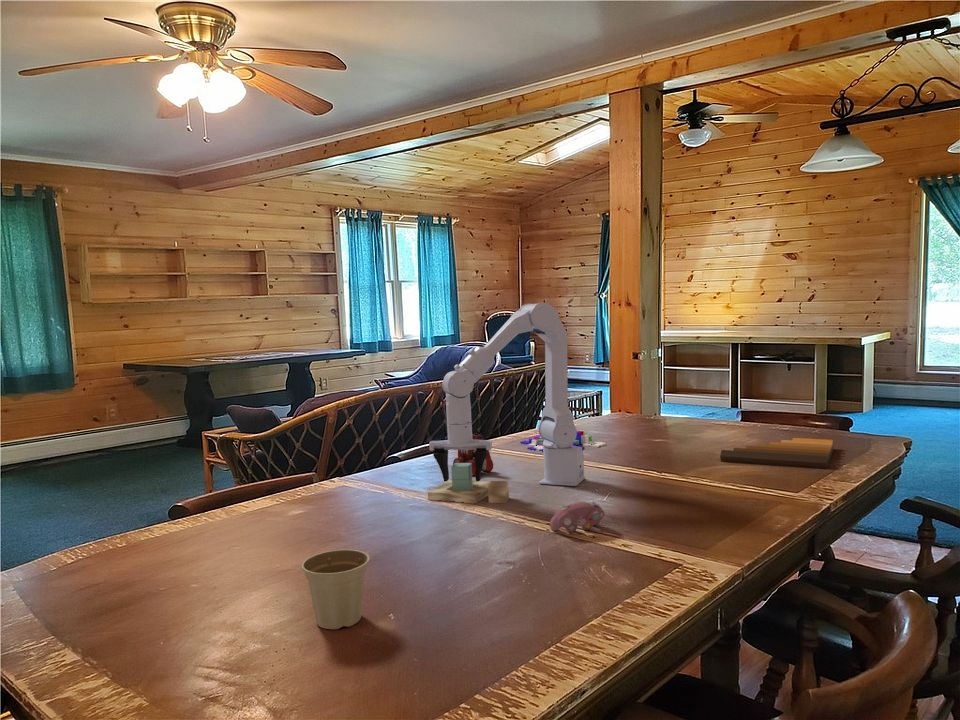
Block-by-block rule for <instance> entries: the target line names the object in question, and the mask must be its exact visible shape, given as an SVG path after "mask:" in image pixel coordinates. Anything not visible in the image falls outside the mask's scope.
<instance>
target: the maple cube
mask: <svg viewBox="0 0 960 720" xmlns="http://www.w3.org/2000/svg"><path fill="white" fill-rule="evenodd" d="M489 482H490V483H489V485H488V496H487V497H488V503H489V504H490V503H491V504H492V503H493V504H497V503H498V504H504V503H505V504H507V503H508V501H509V498H510V495H509V493H510V492H509V491H510V489H509V480H490V481H489Z"/></svg>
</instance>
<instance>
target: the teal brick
mask: <svg viewBox="0 0 960 720" xmlns="http://www.w3.org/2000/svg"><path fill="white" fill-rule="evenodd" d="M450 472H451V479H452V490H458V491H470V490H472V488H473V482H472V481H473V476H472V463H455V464H454V465H453V464H452V466H451V471H450Z"/></svg>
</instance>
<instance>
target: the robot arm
mask: <svg viewBox="0 0 960 720" xmlns="http://www.w3.org/2000/svg"><path fill="white" fill-rule="evenodd" d="M528 332H531V333H534V334H536V336H538V337H539V338H540V339H541V340H542V341H543V342H544V349H545V350H544V359H545V360H544V361H545V362H544V365H545V369H544V371H545V373H544V374H545V377H544V378H545V380H544V381H545V385H544V386H545V405H544V408H543V409H542V412H541V418H540V422H539V424H538V428H537V431H538V434H539V435H538V436H541V438H543V452H542V453H543V473H544V477H543V478H542V479H541V480H539V481H538V484H541V485H554V486H555V485H556V486H570V487H576V486H578V485H579V484H580V483H581V482H583V480H585V479H586V476H585V463H584V461H585V460H584V457H585V456H584V449H583V450H582V448H581V447H582V446H580V447H578V446H573V442H574V441H575V439H576V436H577V431H578V430H577V427H576V425H575V423H574V416H573V413H572V411H571V409H570V408H569V405H568V401H569V399H568V395H569V394H568V391H569V390H568V385H569V384H568V382H569V381H568V332H567V331H566V328H565V326H564V324H563V321H562V320H561V318H560V314H559V310H557V309H556V308H555V307H554V306H552V305H551V304H550V303H548V302H539V303H525V304H523V305H521V306H520V308H519V309H518V310H516V311H515V312H513V313H512V314H511V316H510V317H509V319H507V321H506V322H504V324H503V325H502V326H501V327H500V328H499V330H497V331H496V333H495V334H494V335H493V336H492V337H491V338H490V339H489V340H488V342H487V343H486V344H484V346H476V347H475V348H470V349H469V350H468V351H467V353H468V355H467V356H465V358H464V359H463V360H462V361H461V362H460V363H459V364H455V365H454V366H453V368H454V370H452V371H449V372H447V373H446V374H445V376H444V377H443V380H442V382H441V388H442V390H443V392H444V393H445V400H446V401H445V406H446V407H445V409H446V411H445V413H446V427H447V428H446V431H447V439H443V440H431V441H430V442H429V443H428V444H429V451H430V452H433V453H432V455H433V458H434V459H435V461H436V463H437V464H438V467H439V469H440V472H441V475H442V478H443V482H447V481H449V480H450V472H449V451H452V450H453V451H455V450H456V451H458V450H476V451H475V452H474V458H475V466H476V475H475V481H481V479H482V478H481V477H482V476H481V475H482V472H483V470H482V467H483V463H484V460H485V457H486V455H487V452H488V450H489V451H491V450H492V449H493V441H492V440H490V439H489V440H487V439H483V440H474V439H472V434H473V425H472V423H473V422H472V403H471V393H472V392H473V390H474V386H475V385H474V384H475V383H477V382H478V381H479V380H480V379H481V378H482V377H483V376H484V374H486V373H487V372H488V371H489V369H491V368H492V366H493V365H494V364H495V356H496V355H497V354H499V353H500V352H501V350H503V349H504V348H505V347H506V346H507V345H508V344H509V343H510V342H512V340H514V338H516V336H518V335H520V334H523V333H528Z"/></svg>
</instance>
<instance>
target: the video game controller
mask: <svg viewBox="0 0 960 720" xmlns="http://www.w3.org/2000/svg"><path fill="white" fill-rule="evenodd" d="M604 518H605V511H604V509H603V508H602V507H601V506H600V505H599V504H597V502H596V501H591V502H590V503H589V502H587V501H576V502H573V503H570V504H569V505H562V506H561V507H560V508H559V509H558V510H556V512H555V514H554V515H553V516H552V517H551V519H550V521H549V526H550V529H551V530H552V531H554V532H555V531H558V530H559V529H561V528H564V529H565V530H566V532H567V533H574V532H575V531H577V529H578V524H577V521H578V520H580V522H579V525H580V527H581V529H582V530H583V531H589V530H591V529H592V527H594V526H596V525H598V524H599V523H600V522H601V521H602V520H603V519H604Z"/></svg>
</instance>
